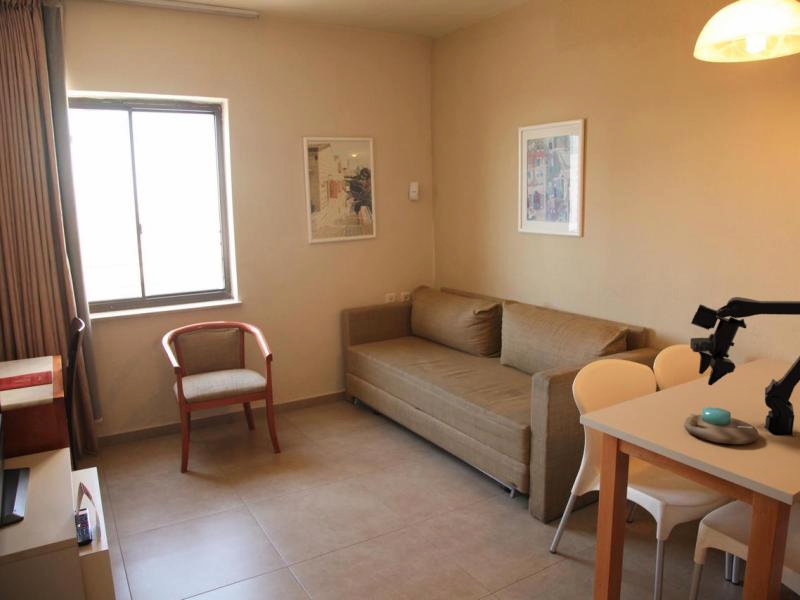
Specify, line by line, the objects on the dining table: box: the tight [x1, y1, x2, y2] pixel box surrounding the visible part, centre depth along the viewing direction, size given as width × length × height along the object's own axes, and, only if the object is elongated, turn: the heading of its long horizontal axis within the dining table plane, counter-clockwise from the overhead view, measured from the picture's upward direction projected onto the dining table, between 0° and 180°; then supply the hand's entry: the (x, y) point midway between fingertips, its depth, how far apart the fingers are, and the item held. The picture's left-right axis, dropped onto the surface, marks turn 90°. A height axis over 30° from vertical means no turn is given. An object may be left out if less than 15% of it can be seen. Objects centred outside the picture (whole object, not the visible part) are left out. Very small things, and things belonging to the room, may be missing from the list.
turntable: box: [684, 413, 759, 445], centre depth 192 cm, size 20×20×4 cm
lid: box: [701, 406, 732, 426], centre depth 197 cm, size 8×8×3 cm
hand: (704, 379), depth 203 cm, fingers open, 9 cm apart
